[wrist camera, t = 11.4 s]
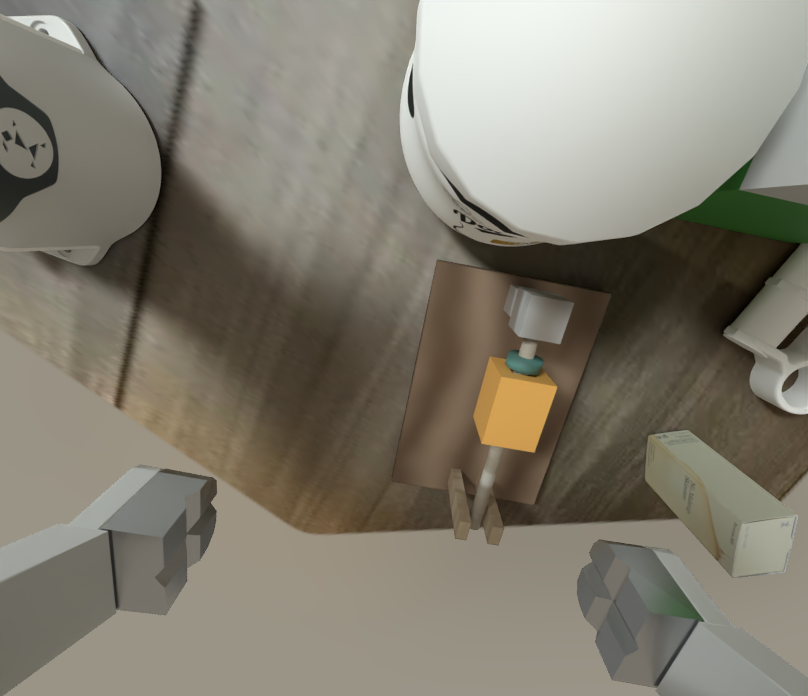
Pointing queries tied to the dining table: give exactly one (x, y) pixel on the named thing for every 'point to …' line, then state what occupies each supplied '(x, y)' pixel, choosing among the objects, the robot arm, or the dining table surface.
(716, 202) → the hardback book
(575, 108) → the milk container
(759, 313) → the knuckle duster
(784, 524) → the skincare box
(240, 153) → the dining table surface
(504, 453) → the board
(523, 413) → the marker sleeve
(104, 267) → the dining table surface
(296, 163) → the dining table surface
